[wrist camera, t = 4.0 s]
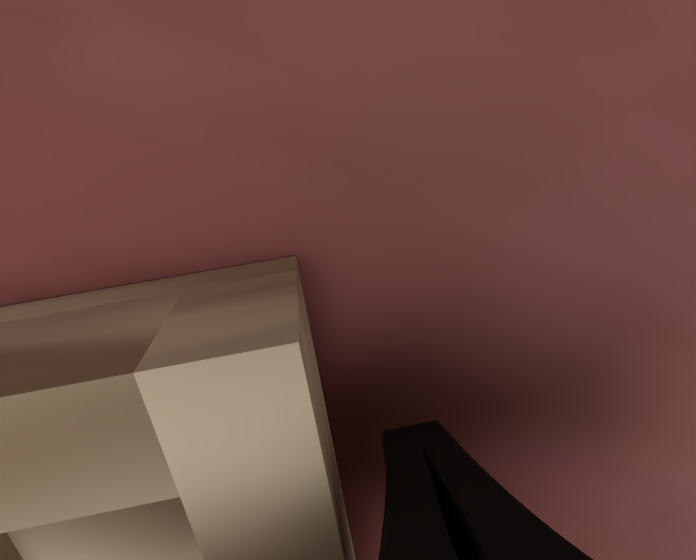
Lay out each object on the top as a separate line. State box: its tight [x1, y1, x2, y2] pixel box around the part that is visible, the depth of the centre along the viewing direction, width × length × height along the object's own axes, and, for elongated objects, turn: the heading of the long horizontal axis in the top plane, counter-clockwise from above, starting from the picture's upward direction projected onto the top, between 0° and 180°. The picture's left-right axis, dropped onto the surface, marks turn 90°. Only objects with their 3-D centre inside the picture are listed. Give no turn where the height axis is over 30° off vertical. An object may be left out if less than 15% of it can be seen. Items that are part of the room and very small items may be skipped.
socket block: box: [0, 256, 356, 560], centre depth 9 cm, size 10×10×4 cm
